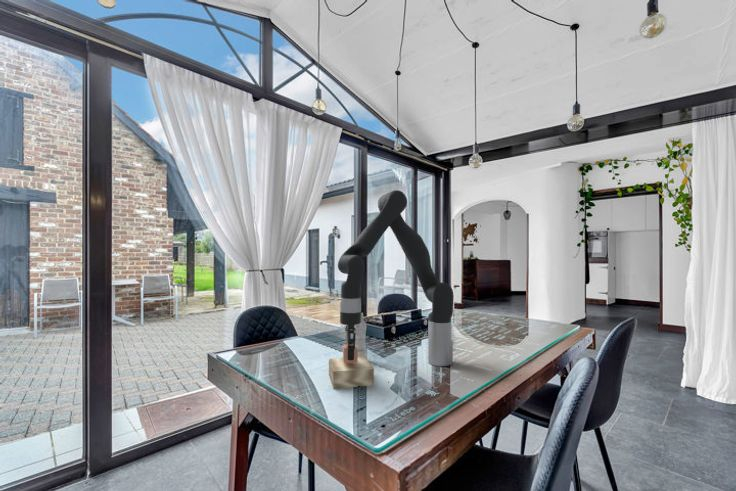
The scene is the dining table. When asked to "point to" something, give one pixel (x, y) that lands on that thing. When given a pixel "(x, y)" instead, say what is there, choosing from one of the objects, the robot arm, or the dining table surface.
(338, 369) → the beige square slab
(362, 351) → the plastic bottle
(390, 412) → the dining table surface
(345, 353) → the terracotta block
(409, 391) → the dining table surface
